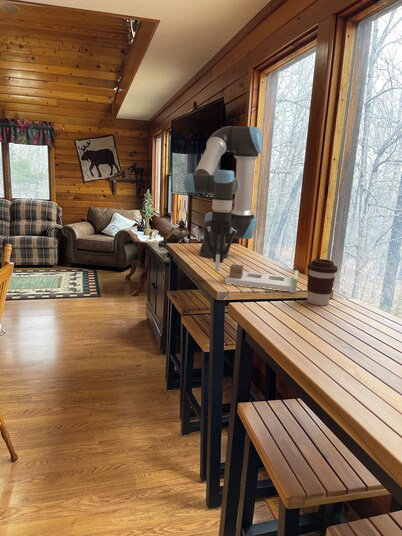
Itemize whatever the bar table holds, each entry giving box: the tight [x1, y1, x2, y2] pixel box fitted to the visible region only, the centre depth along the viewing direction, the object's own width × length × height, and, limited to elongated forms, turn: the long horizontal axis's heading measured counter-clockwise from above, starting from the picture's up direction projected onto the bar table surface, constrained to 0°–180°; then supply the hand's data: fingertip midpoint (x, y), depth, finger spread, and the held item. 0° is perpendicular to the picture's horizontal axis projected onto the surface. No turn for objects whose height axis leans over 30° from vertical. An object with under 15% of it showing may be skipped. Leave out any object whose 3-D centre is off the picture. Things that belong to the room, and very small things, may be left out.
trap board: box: [224, 270, 299, 294], centre depth 154 cm, size 15×27×5 cm, turn 75°
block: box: [229, 263, 244, 279], centre depth 153 cm, size 4×4×4 cm
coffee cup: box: [306, 258, 338, 306], centre depth 134 cm, size 10×10×15 cm
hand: (217, 270), depth 154 cm, fingers closed
